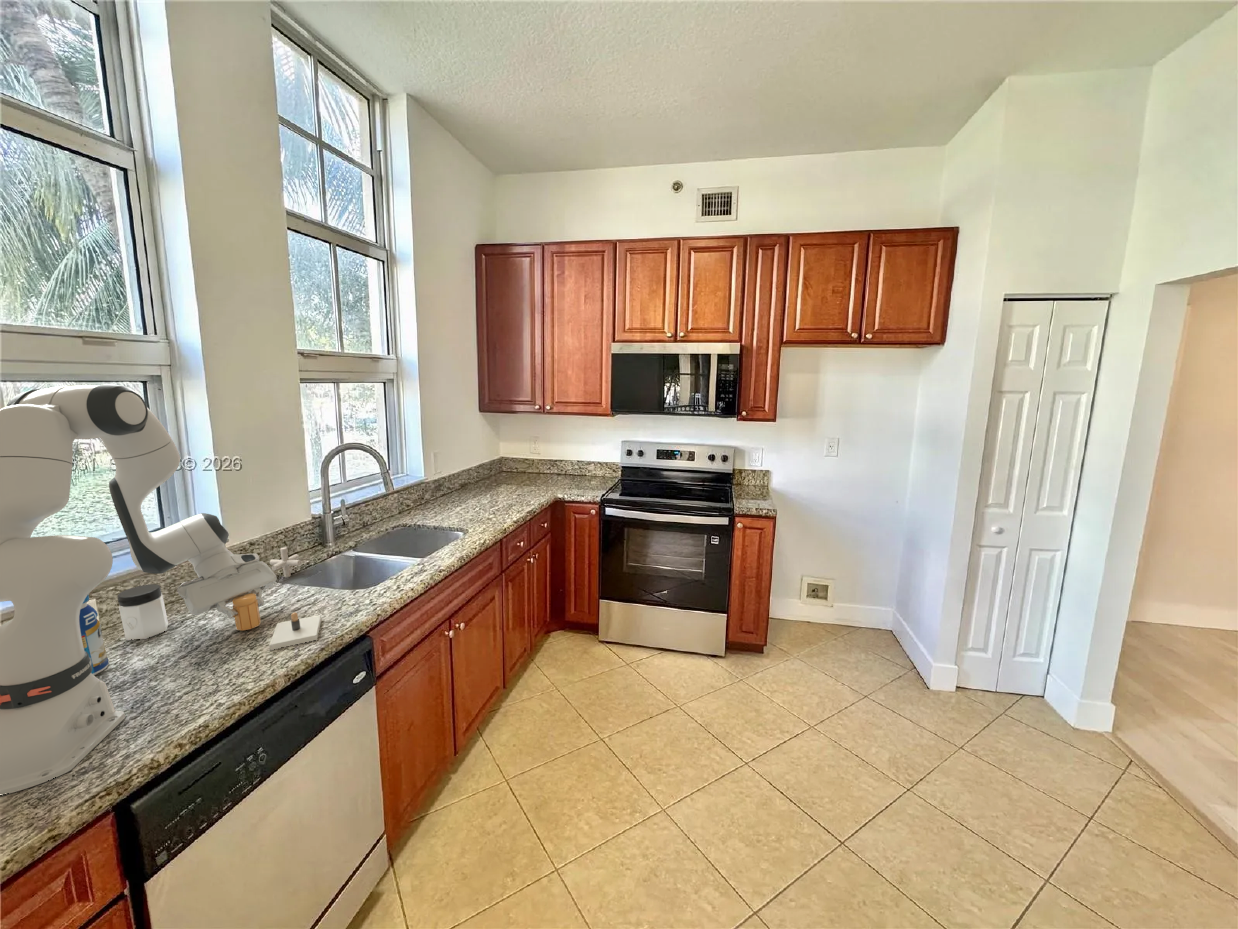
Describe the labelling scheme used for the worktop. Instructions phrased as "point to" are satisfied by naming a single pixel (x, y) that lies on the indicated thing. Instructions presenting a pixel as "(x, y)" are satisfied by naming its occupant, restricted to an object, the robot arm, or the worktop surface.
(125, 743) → the worktop surface
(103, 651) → the beverage bottle
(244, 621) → the fluted domed cylinder
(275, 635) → the board
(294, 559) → the pipe connector
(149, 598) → the jar
